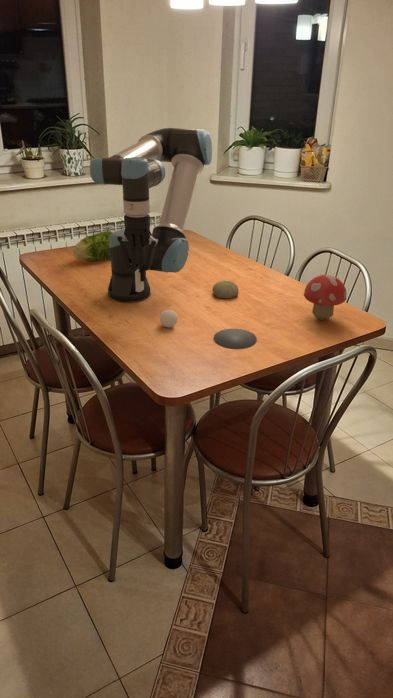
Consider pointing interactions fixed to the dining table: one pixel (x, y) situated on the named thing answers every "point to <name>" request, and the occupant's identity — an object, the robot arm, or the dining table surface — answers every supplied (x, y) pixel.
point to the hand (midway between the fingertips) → (139, 290)
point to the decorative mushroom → (325, 295)
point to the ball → (168, 318)
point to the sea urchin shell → (225, 289)
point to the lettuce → (93, 247)
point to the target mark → (235, 338)
